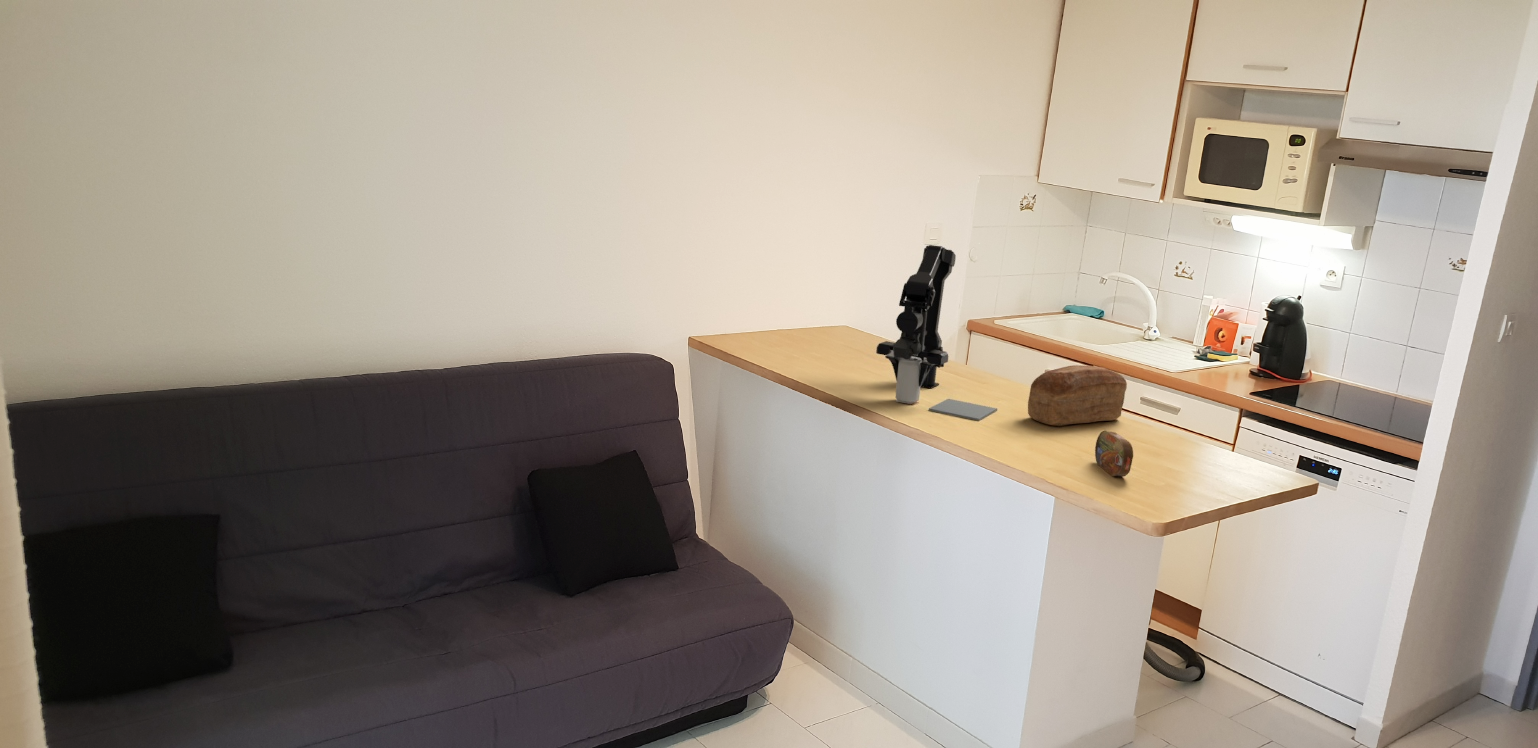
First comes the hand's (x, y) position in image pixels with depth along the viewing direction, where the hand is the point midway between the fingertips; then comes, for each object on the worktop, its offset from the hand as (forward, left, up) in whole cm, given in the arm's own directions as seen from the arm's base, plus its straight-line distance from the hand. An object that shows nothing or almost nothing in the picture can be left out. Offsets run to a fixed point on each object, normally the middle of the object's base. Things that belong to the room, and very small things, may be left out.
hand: (909, 384), depth 288 cm
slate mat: (-3, +15, -5) cm, 16 cm away
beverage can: (0, 0, -5) cm, 5 cm away
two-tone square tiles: (0, 0, -5) cm, 5 cm away
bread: (-17, +41, -5) cm, 45 cm away
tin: (+22, +60, -5) cm, 64 cm away
